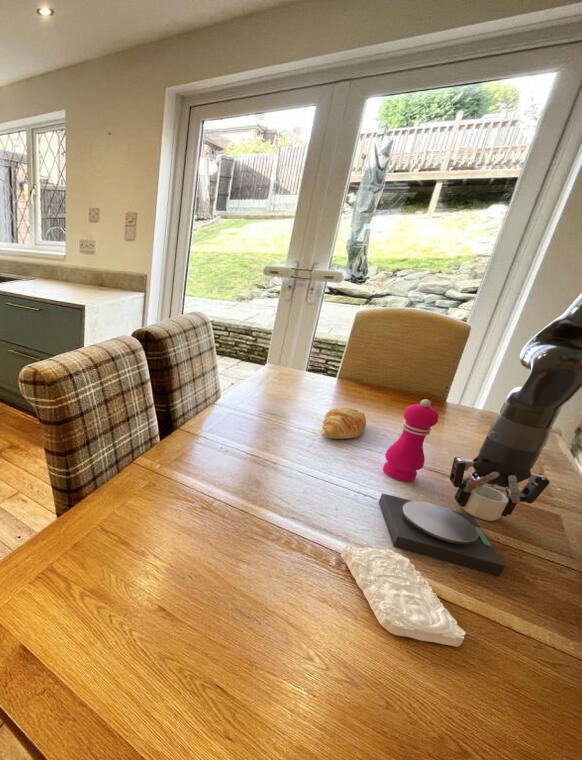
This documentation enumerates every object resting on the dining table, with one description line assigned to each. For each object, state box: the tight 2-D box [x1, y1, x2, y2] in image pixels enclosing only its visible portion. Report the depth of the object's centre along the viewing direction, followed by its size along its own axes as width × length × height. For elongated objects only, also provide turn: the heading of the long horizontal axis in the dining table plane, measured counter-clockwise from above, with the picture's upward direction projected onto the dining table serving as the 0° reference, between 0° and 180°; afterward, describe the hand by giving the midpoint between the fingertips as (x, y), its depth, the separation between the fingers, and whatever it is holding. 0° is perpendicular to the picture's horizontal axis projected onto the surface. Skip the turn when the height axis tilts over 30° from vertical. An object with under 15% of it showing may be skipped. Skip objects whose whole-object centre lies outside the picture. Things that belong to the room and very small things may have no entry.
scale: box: [378, 493, 506, 577], centre depth 76 cm, size 15×14×3 cm
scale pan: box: [402, 500, 478, 544], centre depth 76 cm, size 11×11×1 cm
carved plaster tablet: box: [340, 544, 466, 648], centre depth 64 cm, size 11×16×3 cm
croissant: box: [321, 407, 367, 440], centre depth 114 cm, size 21×10×8 cm, turn 124°
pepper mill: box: [382, 399, 440, 483], centre depth 92 cm, size 7×7×20 cm
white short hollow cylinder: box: [462, 484, 509, 522], centre depth 82 cm, size 6×6×5 cm
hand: (480, 508), depth 83 cm, fingers closed on white short hollow cylinder, 6 cm apart
